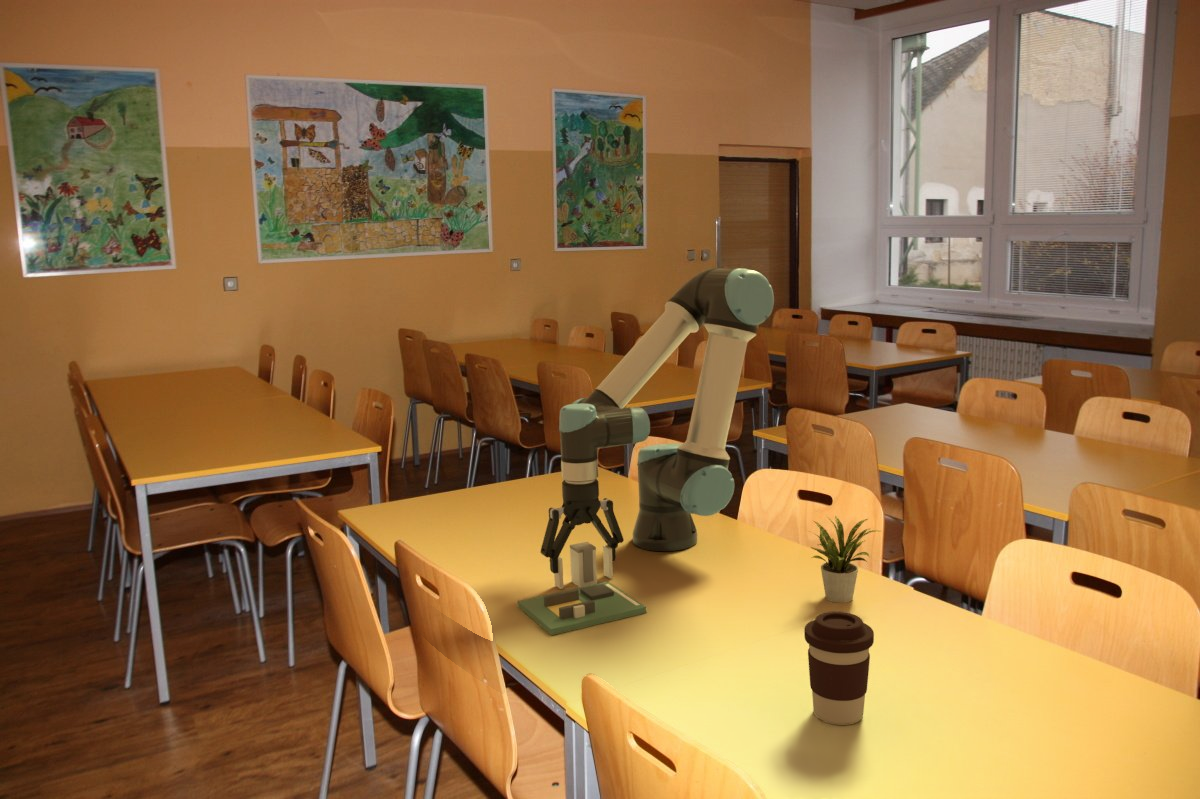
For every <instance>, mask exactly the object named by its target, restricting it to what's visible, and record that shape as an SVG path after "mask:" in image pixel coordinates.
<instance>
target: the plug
mask: <svg viewBox="0 0 1200 799" xmlns="http://www.w3.org/2000/svg"><path fill="white" fill-rule="evenodd" d="M569 553H570V554H569V555H570V556H569V558H570V576H571V579H570V580H571V583H573V584H574V585H576V586H577V588H580V587H585V586H589V585H594V584H598V576H597V575H598V574H597V572H598V571H597V547H596V546H595V545H593V544H592V543H590V542H589V541H584V542H577V543H574V544H569Z"/></svg>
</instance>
